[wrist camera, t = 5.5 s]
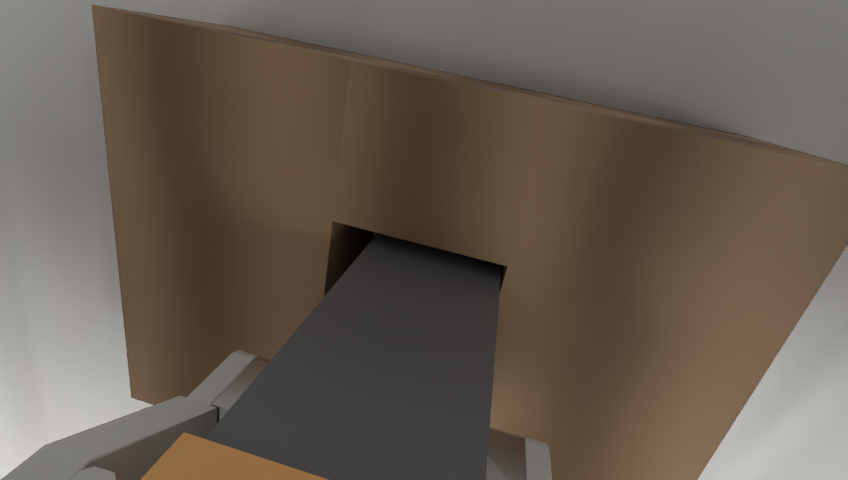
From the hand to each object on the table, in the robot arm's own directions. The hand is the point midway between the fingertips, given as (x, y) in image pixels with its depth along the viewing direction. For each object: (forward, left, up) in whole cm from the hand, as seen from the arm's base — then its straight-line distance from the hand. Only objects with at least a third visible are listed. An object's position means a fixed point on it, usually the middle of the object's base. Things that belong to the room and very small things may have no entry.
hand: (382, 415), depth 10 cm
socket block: (+1, 0, -10) cm, 10 cm away
